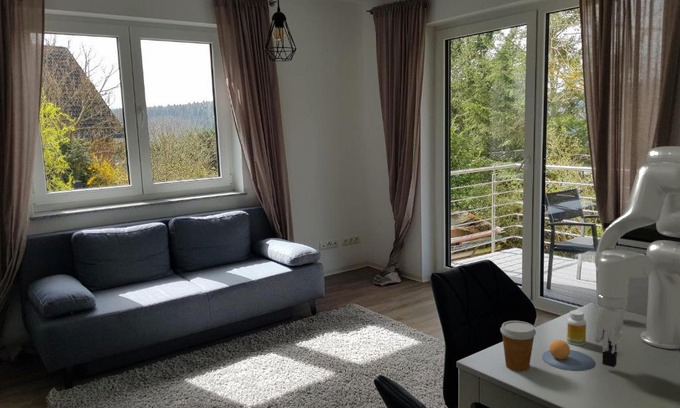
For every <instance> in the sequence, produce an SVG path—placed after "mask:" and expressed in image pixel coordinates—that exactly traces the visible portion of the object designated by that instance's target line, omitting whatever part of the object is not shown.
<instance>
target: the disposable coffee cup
mask: <svg viewBox="0 0 680 408" xmlns="http://www.w3.org/2000/svg"><path fill="white" fill-rule="evenodd" d="M499 329H500V333H501V336H502V344H503V351H504V352H503V353H504V361H505V367H506V368H507V369H508V370H511V371H512V372H513V371H514V372H526V371H528V370H529V369H530V364H531V359H532V354H533V353H532V352H533V346H534V345H533V344H534V339H535V335H536V334H537V331H536V329H535V326H534V325H533V324H531V323H529V322H526V321H522V320H521V321H520V320H508V321H505V322H503V323H502V324H501V327H500V328H499Z"/></svg>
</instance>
